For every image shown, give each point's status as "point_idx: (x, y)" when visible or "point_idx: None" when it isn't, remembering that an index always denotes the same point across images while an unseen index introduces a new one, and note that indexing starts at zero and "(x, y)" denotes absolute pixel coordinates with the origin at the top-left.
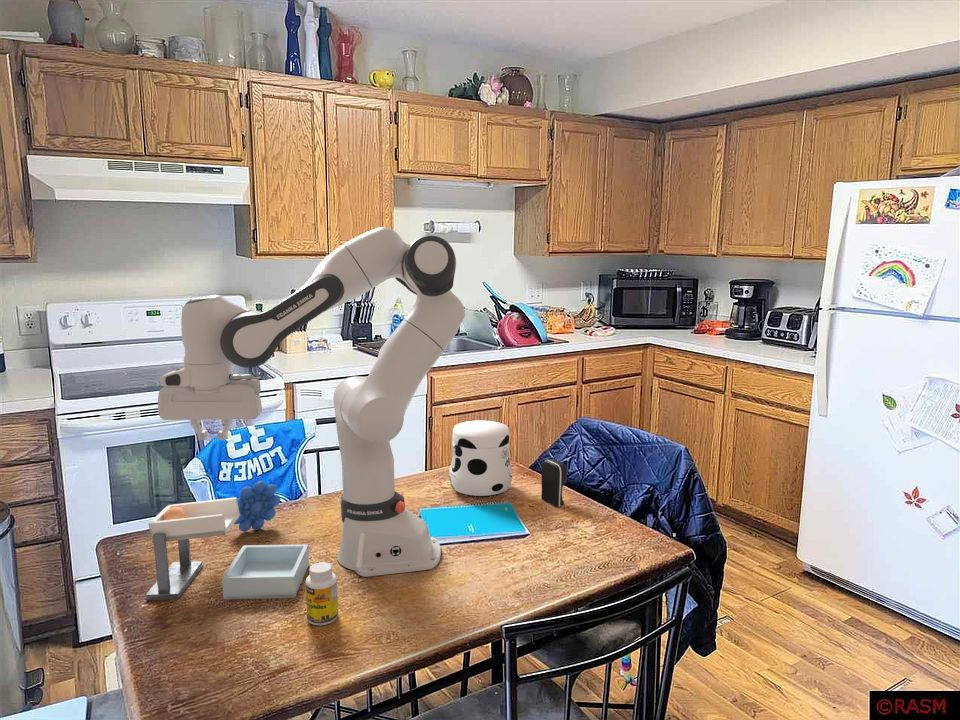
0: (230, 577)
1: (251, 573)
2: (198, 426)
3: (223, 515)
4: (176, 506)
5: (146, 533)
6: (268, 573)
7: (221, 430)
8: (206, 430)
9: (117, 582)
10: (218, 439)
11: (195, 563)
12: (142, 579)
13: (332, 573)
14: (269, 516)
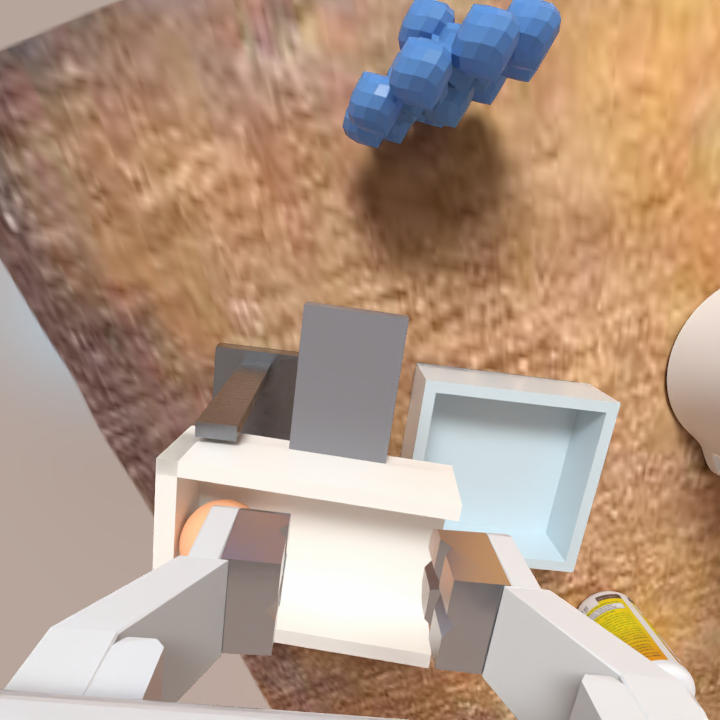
0: None
1: (444, 434)
2: (163, 666)
3: (430, 649)
4: (200, 479)
5: (31, 64)
6: (488, 441)
7: (468, 606)
8: (275, 581)
9: (97, 403)
10: (421, 597)
11: (283, 366)
12: (158, 398)
13: (691, 689)
14: (484, 102)
